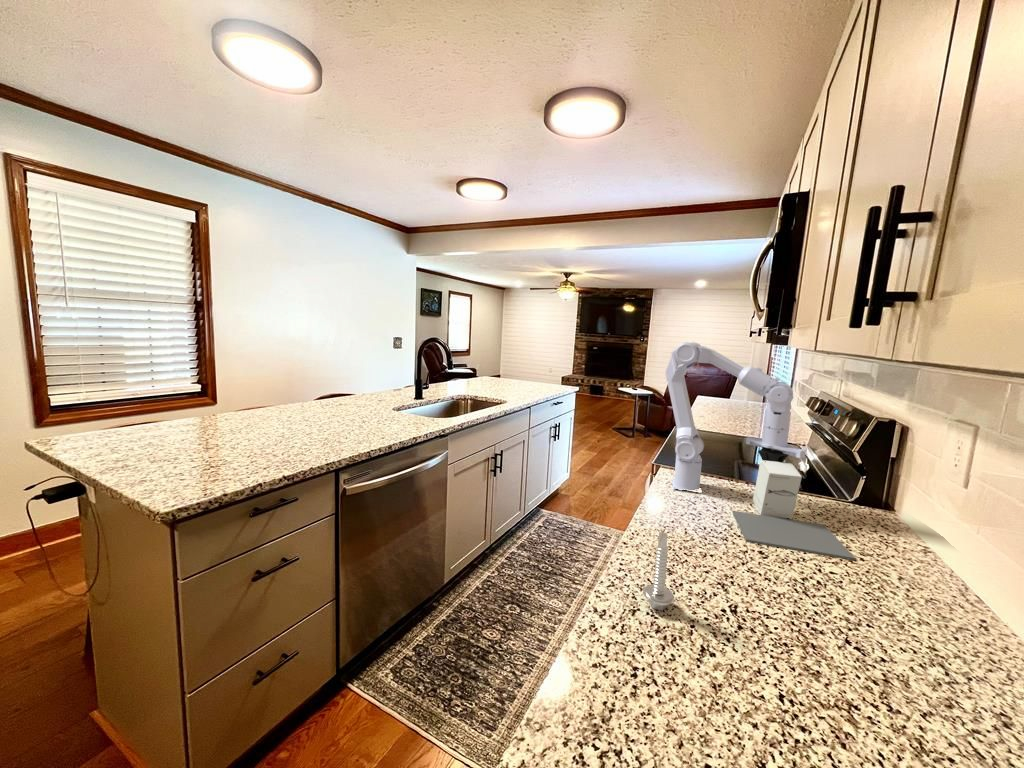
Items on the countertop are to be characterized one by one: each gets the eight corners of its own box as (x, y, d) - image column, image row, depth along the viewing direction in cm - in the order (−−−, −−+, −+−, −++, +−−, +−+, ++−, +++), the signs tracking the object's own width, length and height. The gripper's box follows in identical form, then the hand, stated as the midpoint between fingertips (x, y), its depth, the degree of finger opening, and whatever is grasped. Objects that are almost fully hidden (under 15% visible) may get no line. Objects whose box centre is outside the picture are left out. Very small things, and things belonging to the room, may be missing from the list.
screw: (673, 618, 63) (641, 610, 64) (672, 600, 67) (642, 593, 69) (680, 541, 61) (647, 535, 63) (678, 528, 66) (648, 522, 67)
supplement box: (759, 515, 102) (768, 472, 98) (752, 499, 108) (759, 458, 105) (793, 520, 100) (802, 476, 96) (783, 503, 106) (792, 462, 102)
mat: (732, 512, 103) (732, 510, 103) (823, 526, 97) (824, 524, 96) (745, 541, 88) (746, 539, 88) (855, 560, 82) (855, 558, 82)
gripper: (740, 422, 110) (736, 469, 112) (795, 435, 97) (789, 487, 99) (757, 421, 113) (752, 467, 115) (812, 432, 100) (806, 484, 101)
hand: (770, 476), depth 107 cm, fingers closed
